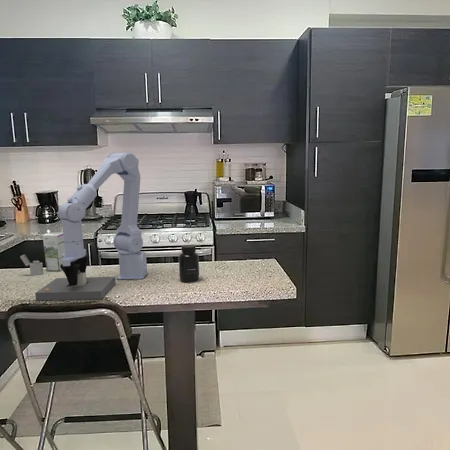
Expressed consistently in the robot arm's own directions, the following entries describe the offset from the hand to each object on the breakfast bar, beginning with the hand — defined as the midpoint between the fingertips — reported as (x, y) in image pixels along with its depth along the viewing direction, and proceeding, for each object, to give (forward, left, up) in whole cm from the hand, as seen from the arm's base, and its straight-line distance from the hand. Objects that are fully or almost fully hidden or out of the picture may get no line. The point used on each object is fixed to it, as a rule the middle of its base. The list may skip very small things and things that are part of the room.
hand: (77, 282), depth 126 cm
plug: (0, 0, -3) cm, 3 cm away
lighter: (+25, -21, -3) cm, 33 cm away
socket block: (0, 0, -3) cm, 3 cm away
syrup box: (+19, -28, -3) cm, 34 cm away
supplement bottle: (-35, -10, -3) cm, 37 cm away
